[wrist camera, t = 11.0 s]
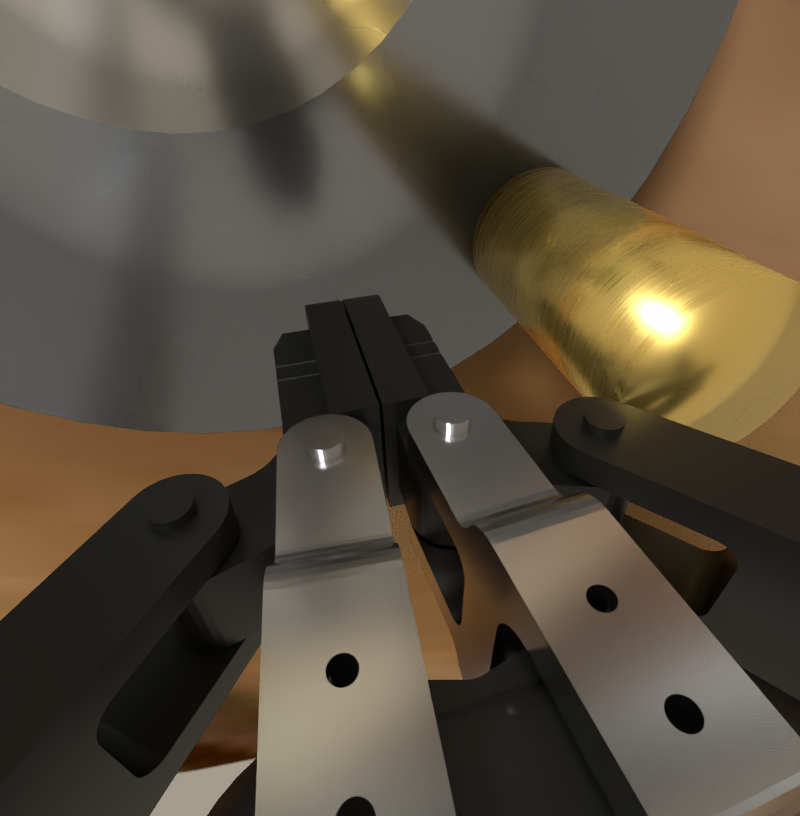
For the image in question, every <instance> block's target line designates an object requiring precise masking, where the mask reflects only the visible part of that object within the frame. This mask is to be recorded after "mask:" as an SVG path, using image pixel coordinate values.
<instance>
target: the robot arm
mask: <svg viewBox="0 0 800 816" xmlns="http://www.w3.org/2000/svg"><path fill="white" fill-rule="evenodd" d="M305 312H306V319H307V325H308V330H302V331H296V332H290V333H283V334H282V335H281V337H280V339H279V340H278V342H277V344H276V346H275V347H274V349H273V350H274V359H275V366H276V376H277V384H278V393H279V401H280V410H281V418H282V427H283V436H282V438H281V440H280V442H279V444H278V448H277V454H276V456H275V457H274V458H273V459H272V460H271V461H270V462H269V463H268V464H267V465H266V466H265V467H263V468H262V469H260V470H259V471H257V472H256V473H254V474H252V475H250V476H248V477H246V478H244V479H242V480H240V481H238V482H235V483H233V484H231V485H229V486H227V487H224V486H223V485H222V483H220V482H219V481H218V480H216V479H214V478H212V477H210V476H206V475H201V474H183V475H177V476H173V477H169V478H166V479H163V480H161V481H158V482H156V483H154V484H152V485H150V486H148V487H147V488H145V489H144V490H142V491H141V492H140V493H138V494H137V495H136V496H135V497H133V498H132V499H131V500H130V501H129V502H128V503H127V504H126V505H125V506H124V507H123V508H122V509H120V510H119V511H118V512H117V513H116V514H115V515H114V516H113V517H112V518H111V519H110V520H109V521H107V522H106V523H105V524H104V525H103V526H102V527H101V528H100V529H99V530H98V531H97V532H96V533H95V534H93V535H92V536H91V537H90V538H89V539H88V540H87V541H86V542H85V543H84V544H83V545H82V546H81V547H79V548H78V549H77V550H76V551H75V552H74V553H73V554H72V555H71V556H70V557H69V558H68V559H66V560H65V561H64V562H63V563H62V564H61V565H60V566H59V567H58V568H57V569H56V570H55V571H54V572H52V573H51V574H50V575H49V576H48V577H47V578H46V579H45V580H44V581H43V582H42V583H41V584H40V585H38V586H37V587H36V588H35V589H34V590H33V591H32V592H31V593H30V594H29V595H28V596H27V597H25V598H24V599H23V600H22V601H21V602H20V603H19V604H18V605H17V606H16V607H15V608H14V609H13V610H11V611H10V612H9V613H8V614H7V615H6V616H5V617H4V618H3V619H2V620H1V621H0V816H150V814H151V812H152V811H153V809H154V808H155V806H156V805H157V803H158V801H159V800H160V799H161V797H162V795H163V794H164V792H165V791H166V789H167V788H168V786H169V785H170V783H171V781H172V780H173V778H174V777H175V775H176V774H177V772H178V771H179V769H180V768H181V766H182V765H183V763H184V762H185V760H186V758H187V757H188V755H189V754H190V752H191V751H192V749H193V748H194V746H195V745H196V743H197V741H198V740H199V738H200V737H201V735H202V734H203V732H204V731H205V729H206V728H207V726H208V724H209V723H210V721H211V720H212V718H213V717H214V715H215V714H216V712H217V711H218V709H219V708H220V706H221V704H222V703H223V701H224V700H225V698H226V697H227V695H228V694H229V692H230V691H231V689H232V687H233V686H234V684H235V683H236V681H237V680H238V678H239V677H240V675H241V674H242V672H243V670H244V669H245V667H246V666H247V664H248V663H249V661H250V660H251V658H252V657H253V655H254V654H255V652H256V650H257V649H258V647H259V646H260V644H261V663H260V691H259V720H258V748H257V758H256V759H255V760H254V761H253V762H252V763H251V764H250V765H249V766H248V767H247V768H246V769H245V770H244V771H243V772H242V773H241V774H240V775H239V776H238V777H237V778H236V779H235V780H234V781H233V783H232V784H231V785H230V786H229V788H228V789H227V790H226V791H225V792H224V793H223V795H222V796H221V797H220V798H219V799H218V801H217V802H216V804H215V805H214V806H213V808H212V809H211V811H210V812H209V814H208V815H207V816H800V466H798V465H795V464H792V463H790V462H787V461H784V460H781V459H778V458H776V457H773V456H770V455H767V454H764V453H761V452H759V451H756V450H753V449H750V448H747V447H745V446H742V445H739V444H736V443H733V442H731V441H728V440H725V439H722V438H719V437H717V436H714V435H711V434H708V433H705V432H703V431H700V430H697V429H694V428H691V427H689V426H686V425H683V424H680V423H677V422H675V421H672V420H669V419H666V418H663V417H661V416H658V415H655V414H652V413H649V412H647V411H644V410H641V409H638V408H635V407H633V406H630V405H627V404H624V403H621V402H619V401H615V400H612V399H607V398H602V397H580V398H576V399H572V400H570V401H567V402H565V403H564V404H562V405H561V406H560V407H559V408H558V409H557V411H556V413H555V416H554V420H553V423H538V422H516V421H508V420H503V419H501V418H500V417H499V416H498V414H497V413H496V412H495V411H494V409H493V408H492V407H491V406H490V405H489V404H487V403H486V402H485V401H483V400H481V399H480V398H477V397H475V396H472V395H469V394H465V393H464V391H463V389H462V388H461V386H460V384H459V383H458V381H457V379H456V377H455V376H454V374H453V372H452V371H451V369H450V367H449V366H448V364H447V362H446V361H445V359H444V357H443V356H442V354H440V351H439V349H438V347H437V345H436V344H435V342H433V339H432V337H431V335H430V334H429V332H428V330H427V329H426V327H425V325H424V324H422V323H421V322H419V321H417V320H416V319H414V318H413V317H411V316H409V315H408V314H404V315H398V316H392V317H390V316H389V314H388V312H387V310H386V308H385V306H384V304H383V302H382V300H381V298H380V296H379V295H378V294H376V295H369V296H362V297H355V298H349V299H343V300H342V302H341V300H336V301H329V302H322V303H315V304H309V305H305ZM386 496H387V499H388V503H389V506H390V507H392V506H396V505H401V504H405V506H406V509H407V512H408V515H409V518H410V537H411V541H412V544H413V547H414V549H415V551H416V554H417V556H418V558H419V561H420V563H421V565H422V568H423V570H424V572H425V575H426V577H427V579H428V581H429V584H430V586H431V588H432V591H433V593H434V595H435V598H436V600H437V602H438V605H439V607H440V609H441V612H442V614H443V616H444V619H445V621H446V623H447V626H448V628H449V630H450V633H451V635H452V638H453V641H454V644H455V648H456V652H457V657H458V662H459V667H460V671H461V675H462V678H463V680H428V679H427V675H426V670H425V665H424V660H423V656H422V651H421V646H420V641H419V637H418V632H417V627H416V622H415V618H414V613H413V608H412V603H411V599H410V594H409V589H408V585H407V580H406V575H405V570H404V566H403V561H402V557H401V553H400V549H399V546H398V544H397V543H394V539H393V535H392V530H391V525H390V520H389V515H388V510H387V503H386ZM629 502H631V503H634V504H636V505H638V506H640V507H643V508H645V509H647V510H649V511H651V512H654V513H656V514H658V515H660V516H663V517H665V518H667V519H669V520H672V521H674V522H676V523H678V524H680V525H683V526H685V527H687V528H689V529H692V530H694V531H696V532H698V533H701V534H703V535H705V536H707V537H709V538H712V539H714V540H716V541H718V542H720V543H722V544H723V545H725V546H726V547H727V548H726V549H724V550H721V551H707V550H703V549H700V548H697V547H695V546H693V545H691V544H689V543H686V542H684V541H682V540H680V539H678V538H676V537H673V536H671V535H669V534H667V533H665V532H663V531H660V530H658V529H656V528H654V527H652V526H650V525H647V524H645V523H643V522H641V521H639V520H637V519H634V518H632V517H630V516H628V515H626V514H625V512H626V509H627V507H628V504H629Z"/></svg>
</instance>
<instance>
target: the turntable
mask: <svg viewBox="0 0 800 816" xmlns="http://www.w3.org/2000/svg"><path fill="white" fill-rule="evenodd" d="M737 2H738V0H412V2H411V4H410V5H409V7H408V8H407V9H406V11H405V12H404V13H403V15H402V16H401V17H400V18H399V20H398V21H397V22H396V24H395V25H394V26H393V28H392V29H391V30H390V31H389V33H388V34H387V35H386V37H385V38H384V39H383V41H382V42H381V43H380V44H379V45H378V46H377V47H376V48H375V49H374V50H373V51H372V52H371V53H370V54H369V55H368V56H367V57H366V58H365V59H364V60H363V61H362V62H361V63H360V64H358V65H357V66H356V67H355V68H354V69H353V70H352V71H351V72H350V73H348V74H347V75H346V76H344V77H343V78H342V79H340V80H339V81H338V82H336V83H335V84H334V85H332V86H331V87H330V88H328V89H327V90H326V91H324V92H323V93H322V94H320V95H318V96H316V97H314V98H313V99H311V100H309V101H307V102H305V103H303V104H301V105H299V106H297V107H296V108H294V109H292V110H290V111H288V112H286V113H283V114H280V115H277V116H275V117H272V118H269V119H266V120H263V121H260V122H257V123H255V124H252V125H247V126H242V127H237V128H231V129H226V130H221V131H215V132H200V133H175V134H171V133H160V132H150V131H140V130H130V129H125V128H120V127H116V126H112V125H107V124H103V123H98V122H94V121H90V120H85V119H82V118H79V117H76V116H73V115H70V114H67V113H64V112H62V111H59V110H56V109H53V108H50V107H47V106H44V105H42V104H39V103H36V102H34V101H31V100H29V99H27V98H25V97H23V96H21V95H19V94H17V93H14V92H12V91H10V90H8V89H6V88H4V87H2V86H0V403H3V404H6V405H10V406H13V407H16V408H21V409H25V410H30V411H34V412H39V413H43V414H47V415H52V416H56V417H61V418H65V419H70V420H74V421H78V422H84V423H91V424H98V425H106V426H113V427H120V428H128V429H135V430H142V431H162V432H184V433H216V432H236V431H255V430H262V429H269V428H275V427H282V418H281V410H280V401H279V393H278V384H277V376H276V366H275V359H274V350H273V349H274V347H275V346H276V344H277V342H278V340H279V339H280V337H281V335H282V334H283V333H290V332H296V331H302V330H308V325H307V319H306V312H305V305H309V304H315V303H322V302H329V301H336V300H341V302H342V300H343V299H349V298H355V297H362V296H369V295H376V294H378V295H379V296H380V298H381V300H382V302H383V304H384V306H385V308H386V310H387V312H388V314H389V316H390V317H392V316H398V315H404V314H408V315H409V316H411V317H413V318H414V319H416V320H417V321H419V322H421V323H422V324H424V325H425V327H426V329H427V330H428V332H429V334H430V335H431V337H432V339H433V342H435V344H436V345H437V347H438V349H439V351H440V354H442V356H443V357H444V359H445V361H446V362H447V364H448V366H449V367H450V368H452V367H454V366H455V365H457V364H458V363H460V362H462V361H463V360H465V359H466V358H468V357H470V356H471V355H473V354H474V353H476V352H478V351H479V350H481V349H482V348H484V347H486V346H487V345H489V344H490V343H491V342H493V341H494V340H495V339H496V338H498V337H499V336H500V335H502V334H503V333H504V332H505V331H507V330H508V329H509V328H511V327H512V326H513V325H514V324H516V323H517V322H518V323H519V324H520V326H521V327H522V328H523V329H524V330H525V331H526V332H527V334H528V335H529V336H530V337H531V338H532V339H533V340H534V342H535V343H536V344H537V345H538V346H539V347H540V348H541V350H542V351H543V352H544V353H545V354H546V355H547V356H548V358H549V359H550V360H551V361H552V362H553V363H554V364H555V366H556V367H557V368H558V369H559V370H560V371H561V373H562V374H563V375H564V376H565V377H566V378H567V379H568V381H569V382H570V383H571V384H572V385H573V386H574V387H575V389H576V390H577V391H578V392H579V393H580V394H581V395H582V397H602V398H607V399H612V400H615V401H619V402H621V403H624V404H627V405H630V406H633V407H635V408H638V409H641V410H644V411H647V412H649V413H652V414H655V415H658V416H661V417H663V418H666V419H669V420H672V421H675V422H677V423H680V424H683V425H686V426H689V427H691V428H694V429H697V430H700V431H703V432H705V433H708V434H711V435H714V436H717V437H719V438H722V439H725V440H728V441H731V442H733V443H735V442H737V441H739V440H740V439H742V438H743V437H745V436H747V435H748V434H750V433H751V432H752V431H754V430H755V429H757V428H758V427H759V426H761V425H762V424H763V423H764V422H766V421H767V420H768V419H769V418H770V417H772V416H773V415H774V414H775V413H776V412H777V411H778V410H779V409H780V408H781V407H782V406H783V405H784V404H785V403H786V402H787V401H788V400H789V399H790V398H791V397H792V395H793V394H794V393H795V392H796V390H797V389H798V388H799V387H800V283H799V282H797V281H795V280H793V279H791V278H789V277H787V276H785V275H783V274H780V273H778V272H776V271H774V270H772V269H770V268H768V267H766V266H764V265H762V264H760V263H758V262H756V261H754V260H752V259H749V258H747V257H745V256H743V255H741V254H739V253H737V252H735V251H733V250H731V249H729V248H727V247H725V246H723V245H721V244H718V243H716V242H714V241H712V240H710V239H708V238H706V237H704V236H702V235H700V234H698V233H696V232H694V231H692V230H690V229H687V228H685V227H683V226H681V225H679V224H677V223H675V222H673V221H671V220H669V219H667V218H665V217H663V216H661V215H659V214H656V213H654V212H652V211H650V210H648V209H646V208H644V207H642V206H640V205H638V204H636V203H634V202H632V201H631V199H632V198H633V196H634V195H635V194H636V192H637V191H638V190H639V188H640V187H641V185H642V184H643V183H644V181H645V180H646V179H647V177H648V176H649V174H650V173H651V171H652V169H653V168H654V166H655V164H656V163H657V161H658V159H659V158H660V156H661V154H662V153H663V151H664V149H665V148H666V146H667V144H668V143H669V141H670V139H671V138H672V136H673V134H674V132H675V131H676V129H677V127H678V126H679V124H680V122H681V121H682V119H683V117H684V116H685V114H686V112H687V111H688V108H689V106H690V104H691V102H692V100H693V98H694V96H695V94H696V92H697V90H698V88H699V86H700V84H701V82H702V80H703V78H704V76H705V74H706V72H707V70H708V68H709V66H710V64H711V62H712V60H713V58H714V56H715V54H716V52H717V49H718V47H719V45H720V43H721V41H722V39H723V37H724V35H725V32H726V30H727V27H728V25H729V22H730V20H731V17H732V15H733V12H734V10H735V7H736V5H737Z"/></svg>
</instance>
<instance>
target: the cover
mask: <svg viewBox="0 0 800 816" xmlns="http://www.w3.org/2000/svg"><path fill="white" fill-rule="evenodd" d="M411 2H412V0H0V86H2V87H4V88H6V89H8V90H10V91H12V92H14V93H17V94H19V95H21V96H23V97H25V98H27V99H29V100H31V101H34V102H36V103H39V104H42V105H44V106H47V107H50V108H53V109H56V110H59V111H62V112H64V113H67V114H70V115H73V116H76V117H79V118H82V119H85V120H90V121H94V122H98V123H103V124H107V125H112V126H116V127H120V128H125V129H130V130H140V131H150V132H160V133H171V134H175V133H200V132H215V131H221V130H226V129H231V128H237V127H242V126H247V125H252V124H255V123H257V122H260V121H263V120H266V119H269V118H272V117H275V116H277V115H280V114H283V113H286V112H288V111H290V110H292V109H294V108H296V107H297V106H299V105H301V104H303V103H305V102H307V101H309V100H311V99H313V98H314V97H316V96H318V95H320V94H322V93H323V92H324V91H326V90H327V89H328V88H330V87H331V86H332V85H334V84H335V83H336V82H338V81H339V80H340V79H342V78H343V77H344V76H346V75H347V74H348V73H350V72H351V71H352V70H353V69H354V68H355V67H356V66H357V65H358V64H360V63H361V62H362V61H363V60H364V59H365V58H366V57H367V56H368V55H369V54H370V53H371V52H372V51H373V50H374V49H375V48H376V47H377V46H378V45H379V44H380V43H381V42H382V41H383V39H384V38H385V37H386V35H387V34H388V33H389V31H390V30H391V29H392V28H393V26H394V25H395V24H396V22H397V21H398V20H399V18H400V17H401V16H402V15H403V13H404V12H405V11H406V9H407V8H408V7H409V5H410V4H411Z"/></svg>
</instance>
